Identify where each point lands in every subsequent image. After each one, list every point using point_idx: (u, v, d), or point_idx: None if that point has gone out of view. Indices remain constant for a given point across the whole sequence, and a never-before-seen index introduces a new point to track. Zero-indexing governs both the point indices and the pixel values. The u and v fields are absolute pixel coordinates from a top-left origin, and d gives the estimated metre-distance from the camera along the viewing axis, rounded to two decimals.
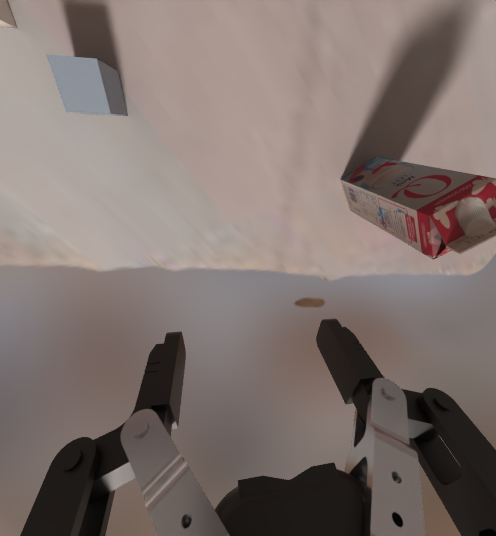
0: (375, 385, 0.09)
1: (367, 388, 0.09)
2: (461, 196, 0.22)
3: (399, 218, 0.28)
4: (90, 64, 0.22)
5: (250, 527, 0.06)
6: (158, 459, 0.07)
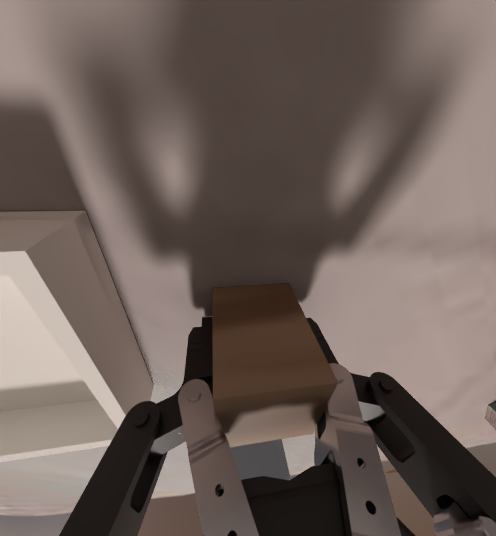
0: None
1: None
2: None
3: None
4: None
5: None
6: (204, 426, 0.07)
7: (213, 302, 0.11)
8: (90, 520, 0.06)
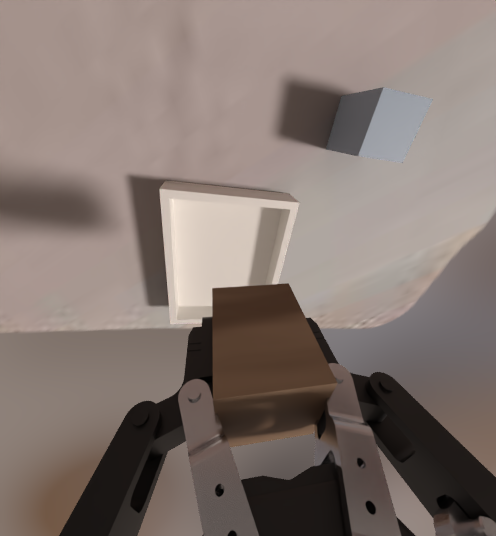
0: None
1: None
2: None
3: None
4: (384, 101, 0.16)
5: None
6: (204, 426, 0.07)
7: (213, 302, 0.11)
8: (90, 520, 0.06)
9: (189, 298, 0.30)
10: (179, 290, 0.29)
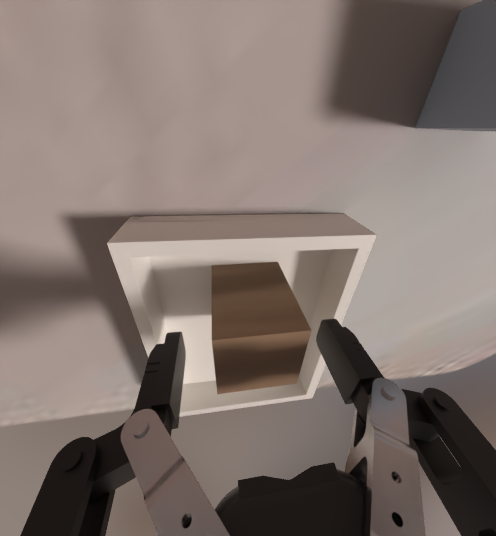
0: (375, 385, 0.09)
1: (367, 388, 0.09)
2: None
3: None
4: None
5: (250, 527, 0.06)
6: (158, 459, 0.07)
7: (212, 276, 0.13)
8: None
9: (195, 374, 0.20)
10: None
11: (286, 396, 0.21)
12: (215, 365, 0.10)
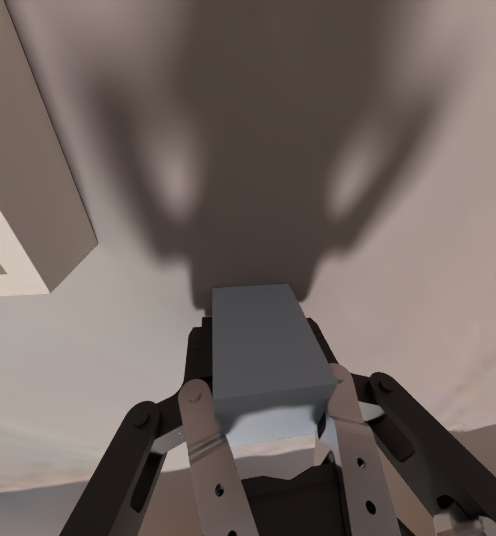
0: None
1: None
2: None
3: None
4: (316, 392, 0.08)
5: None
6: (204, 426, 0.07)
7: None
8: (90, 520, 0.06)
9: None
10: None
11: None
12: None
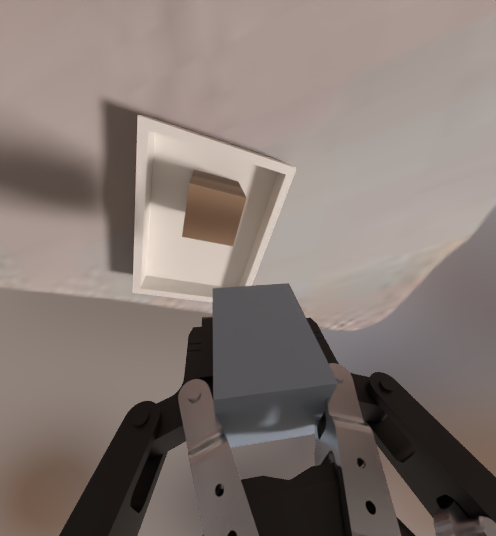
0: None
1: None
2: None
3: None
4: (316, 392, 0.08)
5: None
6: (204, 426, 0.07)
7: (194, 171, 0.20)
8: (90, 520, 0.06)
9: (159, 267, 0.26)
10: (149, 256, 0.25)
11: None
12: (186, 206, 0.17)
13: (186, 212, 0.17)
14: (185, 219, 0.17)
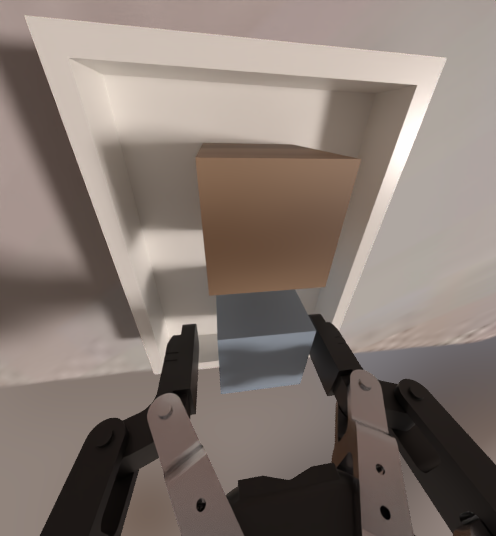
0: (352, 378, 0.09)
1: (346, 379, 0.09)
2: None
3: None
4: (299, 339, 0.10)
5: (250, 527, 0.06)
6: (179, 442, 0.07)
7: (203, 144, 0.09)
8: None
9: (186, 323, 0.17)
10: (165, 311, 0.16)
11: None
12: (204, 226, 0.06)
13: (206, 240, 0.07)
14: (208, 257, 0.07)
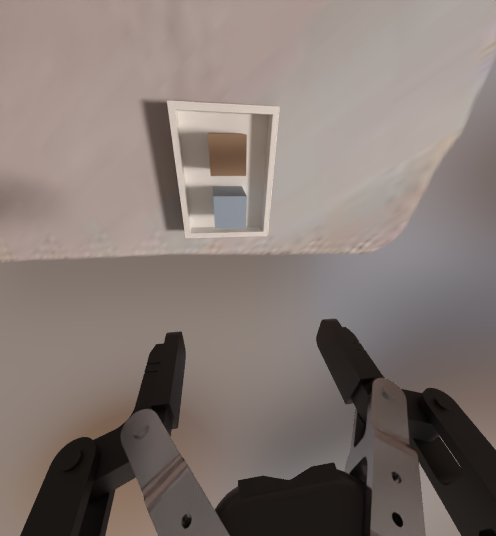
0: (375, 385, 0.09)
1: (367, 388, 0.09)
2: None
3: None
4: (241, 200, 0.29)
5: (250, 527, 0.06)
6: (158, 459, 0.07)
7: None
8: None
9: (199, 218, 0.36)
10: (190, 210, 0.35)
11: (252, 231, 0.36)
12: (209, 151, 0.25)
13: (210, 156, 0.26)
14: (210, 161, 0.26)
